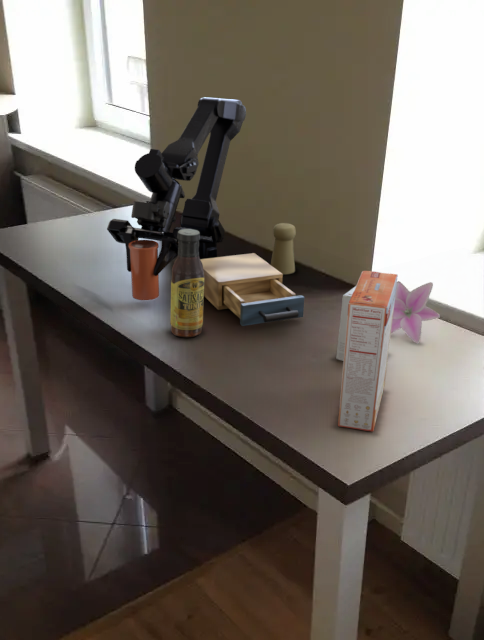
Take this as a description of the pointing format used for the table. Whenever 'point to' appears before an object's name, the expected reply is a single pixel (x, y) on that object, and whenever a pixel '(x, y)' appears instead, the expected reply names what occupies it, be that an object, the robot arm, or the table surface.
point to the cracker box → (366, 349)
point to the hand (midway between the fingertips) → (141, 272)
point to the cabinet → (234, 274)
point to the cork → (283, 248)
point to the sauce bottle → (187, 286)
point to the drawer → (262, 301)
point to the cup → (144, 269)
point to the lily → (412, 310)
